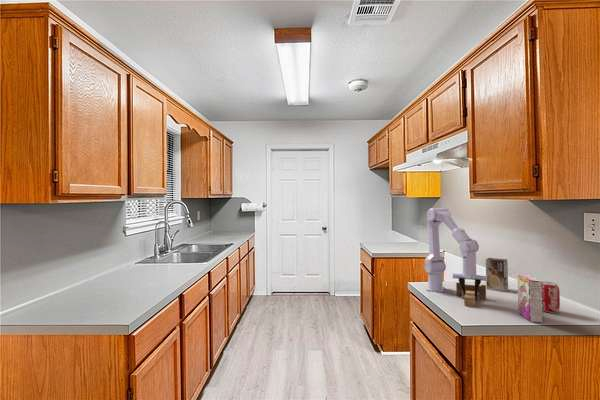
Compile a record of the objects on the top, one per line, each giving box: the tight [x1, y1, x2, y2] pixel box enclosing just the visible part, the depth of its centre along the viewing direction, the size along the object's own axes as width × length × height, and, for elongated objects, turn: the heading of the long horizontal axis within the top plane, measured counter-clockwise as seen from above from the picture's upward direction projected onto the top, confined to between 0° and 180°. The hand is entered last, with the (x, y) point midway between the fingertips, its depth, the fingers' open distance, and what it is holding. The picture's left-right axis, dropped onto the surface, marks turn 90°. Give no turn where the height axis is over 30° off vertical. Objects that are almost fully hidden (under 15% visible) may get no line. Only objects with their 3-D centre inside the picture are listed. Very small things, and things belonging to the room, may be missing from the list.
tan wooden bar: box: [463, 290, 477, 308], centre depth 163 cm, size 14×4×4 cm, turn 151°
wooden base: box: [455, 282, 487, 301], centre depth 169 cm, size 5×13×6 cm, turn 61°
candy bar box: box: [517, 274, 544, 324], centre depth 140 cm, size 11×5×16 cm, turn 168°
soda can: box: [542, 281, 561, 314], centre depth 148 cm, size 7×7×12 cm
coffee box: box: [485, 257, 509, 293], centre depth 184 cm, size 9×6×16 cm
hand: (470, 294), depth 163 cm, fingers open, 4 cm apart
